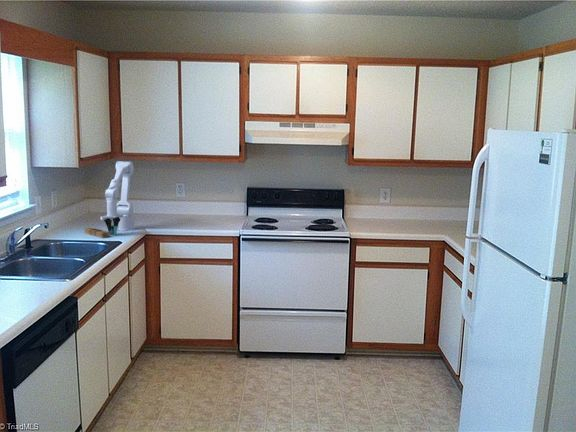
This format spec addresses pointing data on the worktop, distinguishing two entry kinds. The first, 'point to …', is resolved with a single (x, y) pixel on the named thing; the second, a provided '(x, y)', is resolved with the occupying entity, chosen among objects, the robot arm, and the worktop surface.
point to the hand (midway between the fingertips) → (112, 230)
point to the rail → (97, 232)
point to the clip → (113, 230)
